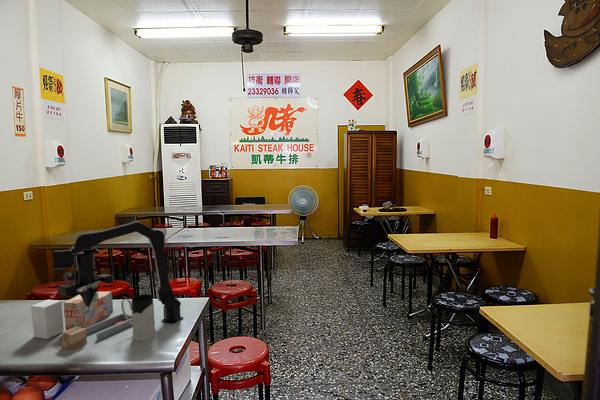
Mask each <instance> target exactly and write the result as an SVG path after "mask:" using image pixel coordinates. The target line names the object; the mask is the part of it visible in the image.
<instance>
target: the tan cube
mask: <svg viewBox="0 0 600 400" xmlns="http://www.w3.org/2000/svg"><path fill="white" fill-rule="evenodd" d="M87 336H88V335H86V329H84V328H81V327H74V328H72V329H69V330H66V329H65V330H64V331H63V332H62V333H61V337H62V347H63V348H66V349H70V350H72V351H73V350H75V349H77V348H79V347H81V346H84V345H86V344H88V340H87V339H88V338H87Z"/></svg>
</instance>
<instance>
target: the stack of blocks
mask: <svg viewBox="0 0 600 400" xmlns="http://www.w3.org/2000/svg"><path fill="white" fill-rule="evenodd" d="M112 293H113V292H112V291H97V292H96V294H95V296H94V297H93V300H92V302H91V304H90V306H88V307H87V306H86V305H85V303H84V301H83V299H82V297H81V296H80V294H77V295H75V296H74V297H72V298H70V299H67V300H66V301H64V302H63V313H64V315H63V316H64V323H65V324H64V326H65V331H66V330H69V329H72V328H74V327H81V328H87V327H89V326H92V325H94V324H96V323H98V321H100V320H101V319H103V318H105V317H106V316H108V315H109V314H112V313H113V312H114V305H113V304H114V303H113V294H112Z"/></svg>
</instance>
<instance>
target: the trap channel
mask: <svg viewBox="0 0 600 400" xmlns="http://www.w3.org/2000/svg"><path fill="white" fill-rule="evenodd" d="M125 314H126V316H127V317H128V318H129V320H130V321H131V322H132V314H129V313H126V312H125ZM108 326H111V327H108ZM132 326H133V325H132V324H131V323H130V322H129V321H128V320H127V319H126V318H125V316H124V314H123V312H122V313H119V314H116V315H114V316H112V317H109V318H107V319H104V320H102V321H100V322H96V323H94V324H92V325H91V326H89V327H87V328H84V329H86V336H88V335H90V334H92V333H95V332H97V331H99V330H101V331H99V332H97V333H95V334H96V341H100V340H103V339H105V338H106V337H109V336H111V335H114V334H116V333H118V332H120V331H122V330H124V329H126V328H127V329H128V328H129V327H132ZM106 327H108V328H106ZM104 328H105V329H104ZM102 329H103V330H102Z"/></svg>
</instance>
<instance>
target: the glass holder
mask: <svg viewBox="0 0 600 400" xmlns="http://www.w3.org/2000/svg"><path fill="white" fill-rule="evenodd" d="M124 301H127V302H128V303H129V308H130V310H131V315H132V322H131V321H130V320H129V318H128V317H127V316H126V314H127V313H126V312H125V307H124ZM121 310H122V313H123V314H124V316H125V318H126V319H127V320H128V321H129V322H130V323H131V324H132V325H131V326H132V336H131V339H132V340H134V341H146V340H150V339H153V338H154V337H155V336H156V335H157V331H156V328H155V327H156V326H155V325H156V324H155V323H156V322H155V306H154V296H153V295H152V294H139V295H136V296H133V297H132V298H131V300H130V299H128V298H125V299H123V300H122V301H121ZM125 313H126V314H125Z"/></svg>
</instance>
